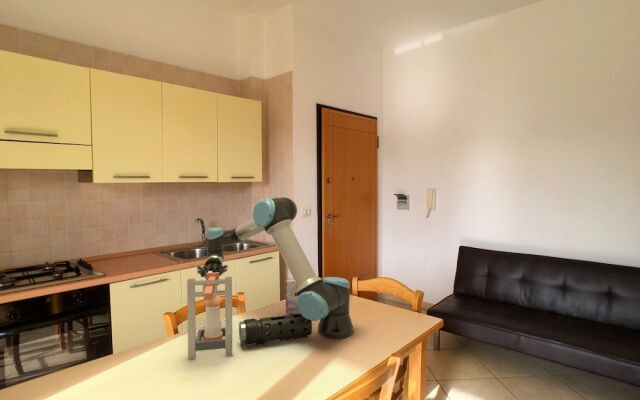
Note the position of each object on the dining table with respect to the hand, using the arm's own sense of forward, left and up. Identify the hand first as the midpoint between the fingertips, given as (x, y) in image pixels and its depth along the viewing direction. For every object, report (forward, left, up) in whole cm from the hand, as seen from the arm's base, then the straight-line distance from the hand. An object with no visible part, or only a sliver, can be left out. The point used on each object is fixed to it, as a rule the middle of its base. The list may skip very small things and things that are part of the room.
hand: (209, 278), depth 144 cm
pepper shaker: (-1, -1, -26) cm, 26 cm away
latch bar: (-11, +5, -3) cm, 12 cm away
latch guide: (-12, +5, -26) cm, 29 cm away
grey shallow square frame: (-1, -1, -26) cm, 26 cm away
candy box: (0, -47, -26) cm, 54 cm away
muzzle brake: (-17, -20, -26) cm, 37 cm away
